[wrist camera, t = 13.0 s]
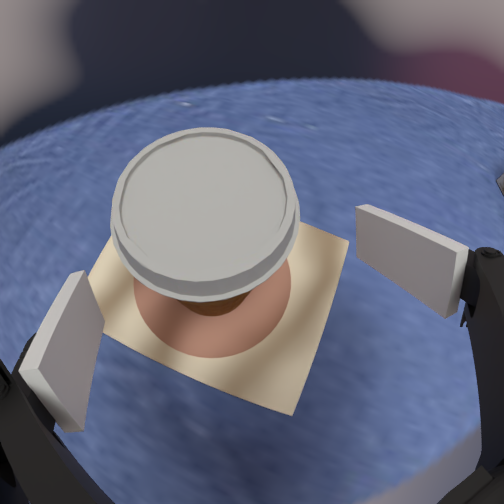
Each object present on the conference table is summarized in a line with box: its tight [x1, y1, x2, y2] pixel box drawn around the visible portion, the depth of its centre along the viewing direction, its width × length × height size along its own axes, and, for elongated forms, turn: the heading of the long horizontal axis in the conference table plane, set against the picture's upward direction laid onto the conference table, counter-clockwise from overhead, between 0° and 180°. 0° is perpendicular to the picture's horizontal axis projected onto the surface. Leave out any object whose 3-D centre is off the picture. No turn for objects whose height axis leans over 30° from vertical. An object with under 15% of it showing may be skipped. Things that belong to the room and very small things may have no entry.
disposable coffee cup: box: [110, 128, 300, 316], centre depth 19 cm, size 10×10×12 cm
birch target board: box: [88, 222, 349, 416], centre depth 25 cm, size 20×16×1 cm
